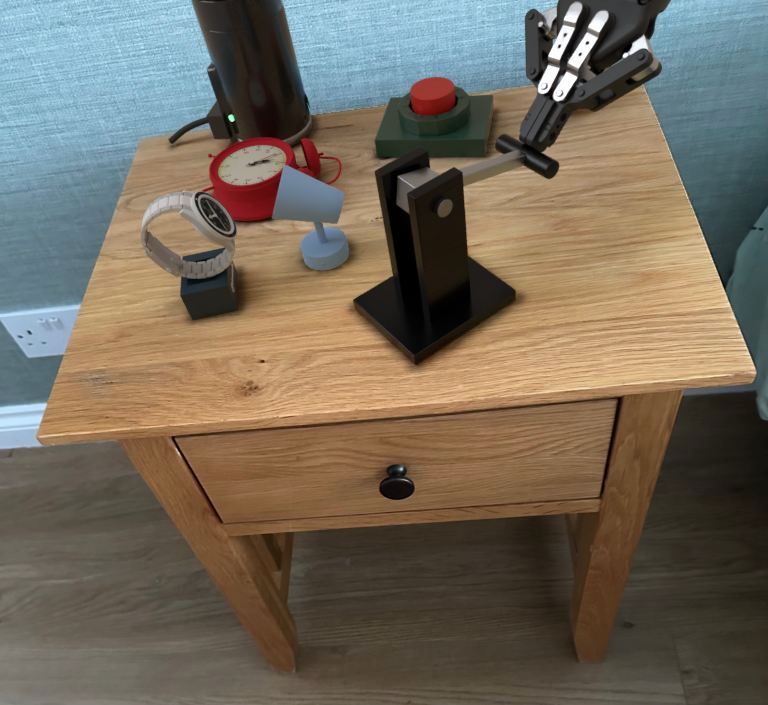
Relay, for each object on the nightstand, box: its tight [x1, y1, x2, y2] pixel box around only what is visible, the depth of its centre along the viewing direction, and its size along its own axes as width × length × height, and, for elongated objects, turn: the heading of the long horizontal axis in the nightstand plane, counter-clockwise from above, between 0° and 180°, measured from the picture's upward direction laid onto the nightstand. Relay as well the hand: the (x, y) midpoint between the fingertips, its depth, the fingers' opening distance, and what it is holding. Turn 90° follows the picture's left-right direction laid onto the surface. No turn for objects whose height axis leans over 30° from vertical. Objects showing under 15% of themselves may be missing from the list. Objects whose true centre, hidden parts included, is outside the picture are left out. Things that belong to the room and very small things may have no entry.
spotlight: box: [271, 164, 350, 271], centre depth 64 cm, size 5×10×7 cm
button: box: [409, 76, 456, 115], centre depth 76 cm, size 5×5×2 cm
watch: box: [140, 189, 239, 321], centre depth 62 cm, size 6×8×11 cm
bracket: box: [352, 146, 517, 366], centre depth 56 cm, size 11×9×14 cm
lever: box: [396, 133, 560, 213], centre depth 54 cm, size 13×6×2 cm, turn 126°
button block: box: [374, 85, 495, 158], centre depth 77 cm, size 12×9×4 cm
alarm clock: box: [200, 137, 343, 222], centre depth 74 cm, size 10×6×15 cm
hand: (530, 146), depth 57 cm, fingers closed
